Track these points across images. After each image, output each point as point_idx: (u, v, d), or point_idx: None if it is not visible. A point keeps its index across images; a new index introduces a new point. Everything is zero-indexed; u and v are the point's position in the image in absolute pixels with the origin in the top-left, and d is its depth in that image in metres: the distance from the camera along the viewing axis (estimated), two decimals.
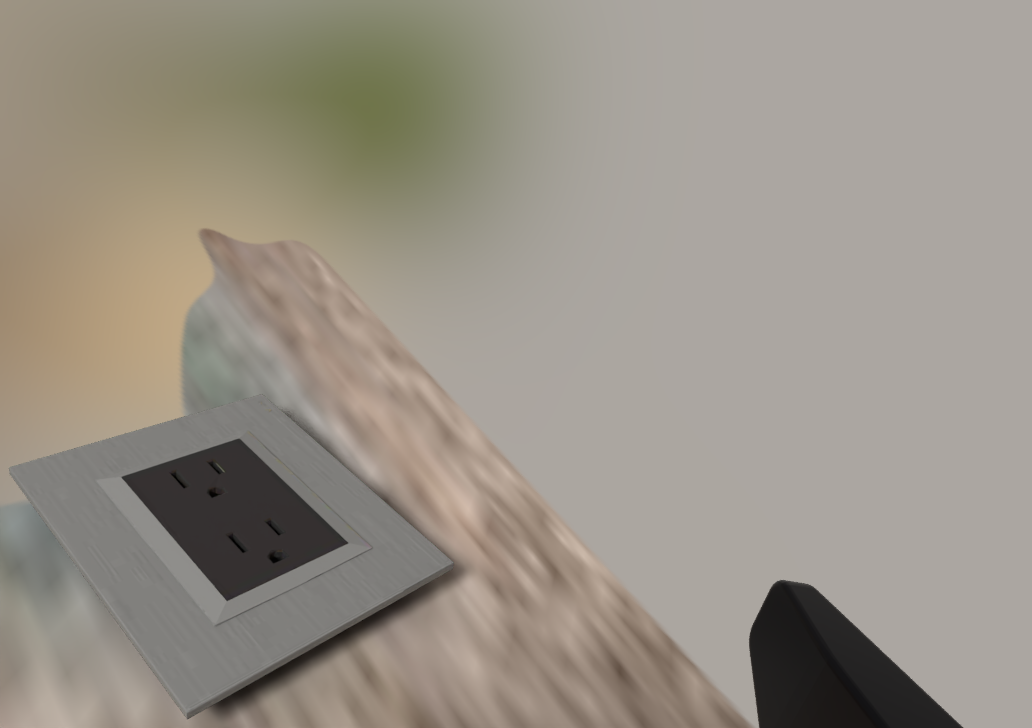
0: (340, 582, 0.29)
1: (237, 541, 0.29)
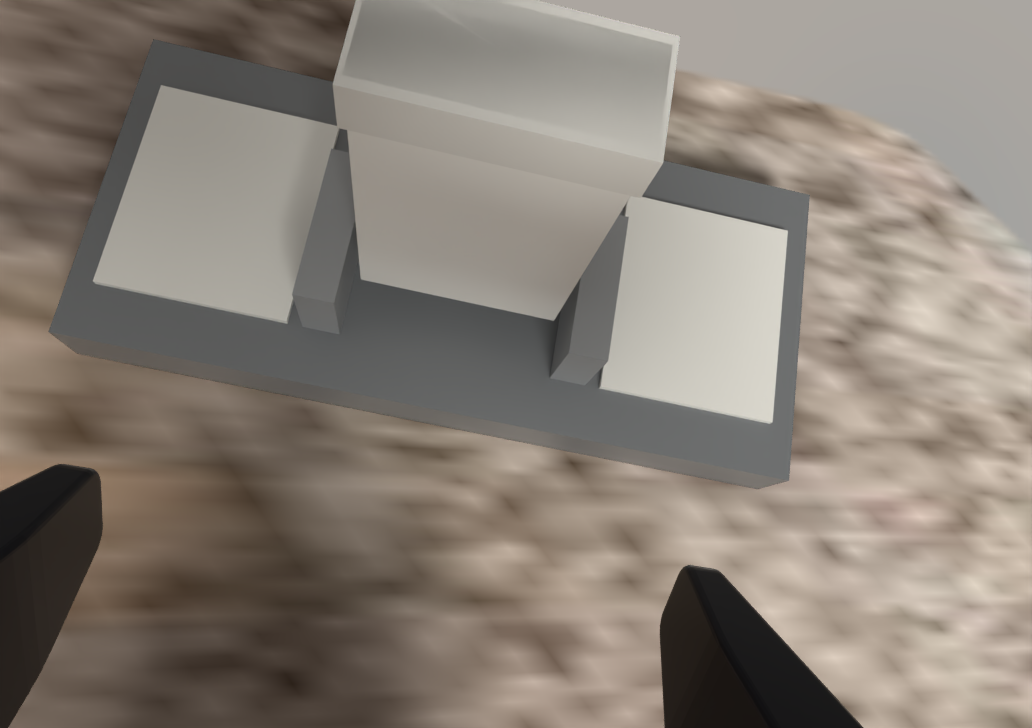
0: None
1: None
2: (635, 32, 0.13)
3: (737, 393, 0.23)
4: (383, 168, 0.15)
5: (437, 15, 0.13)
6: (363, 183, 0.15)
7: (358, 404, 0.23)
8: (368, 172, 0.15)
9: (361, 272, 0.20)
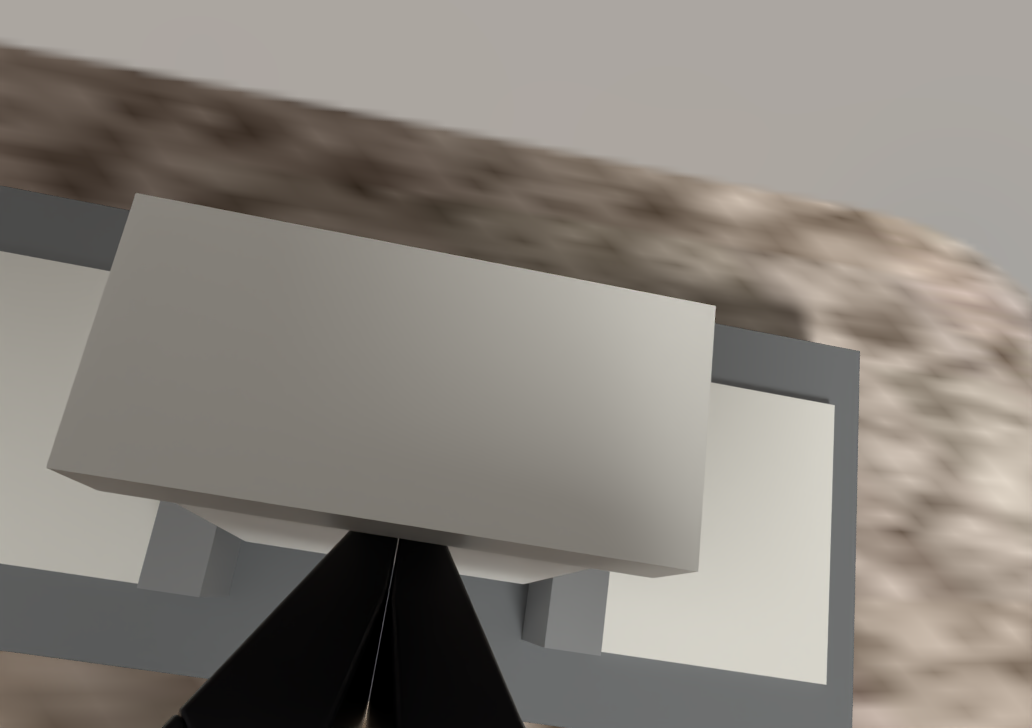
0: None
1: None
2: (636, 305, 0.07)
3: (777, 645, 0.17)
4: None
5: (266, 301, 0.07)
6: (193, 505, 0.09)
7: None
8: None
9: (242, 538, 0.14)
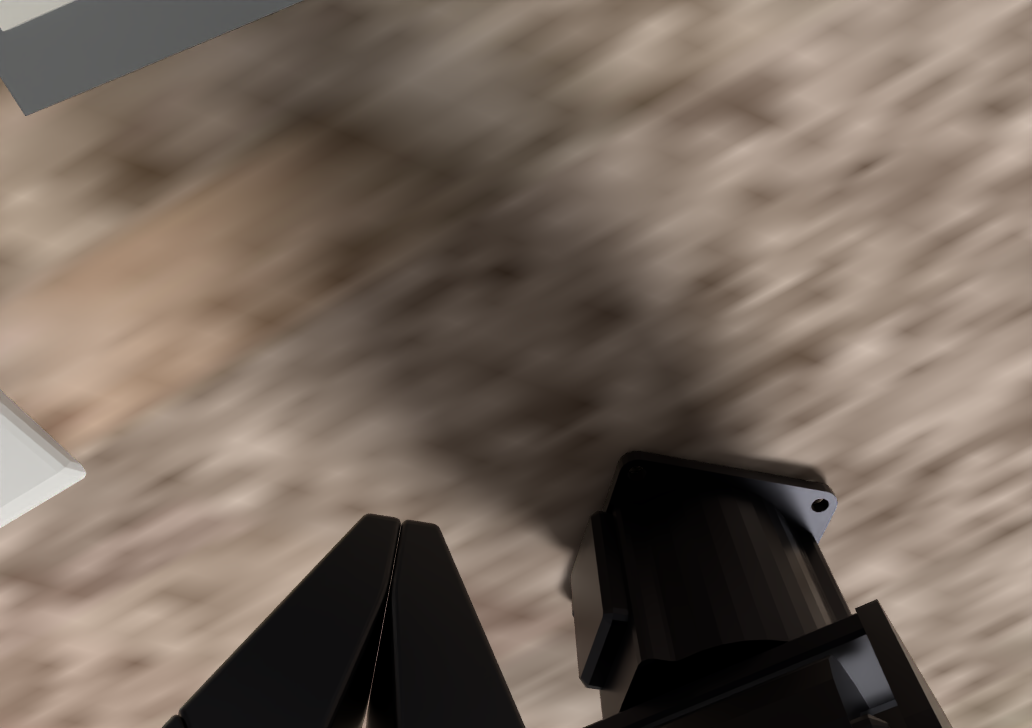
0: None
1: None
2: None
3: None
4: None
5: None
6: None
7: None
8: None
9: None
